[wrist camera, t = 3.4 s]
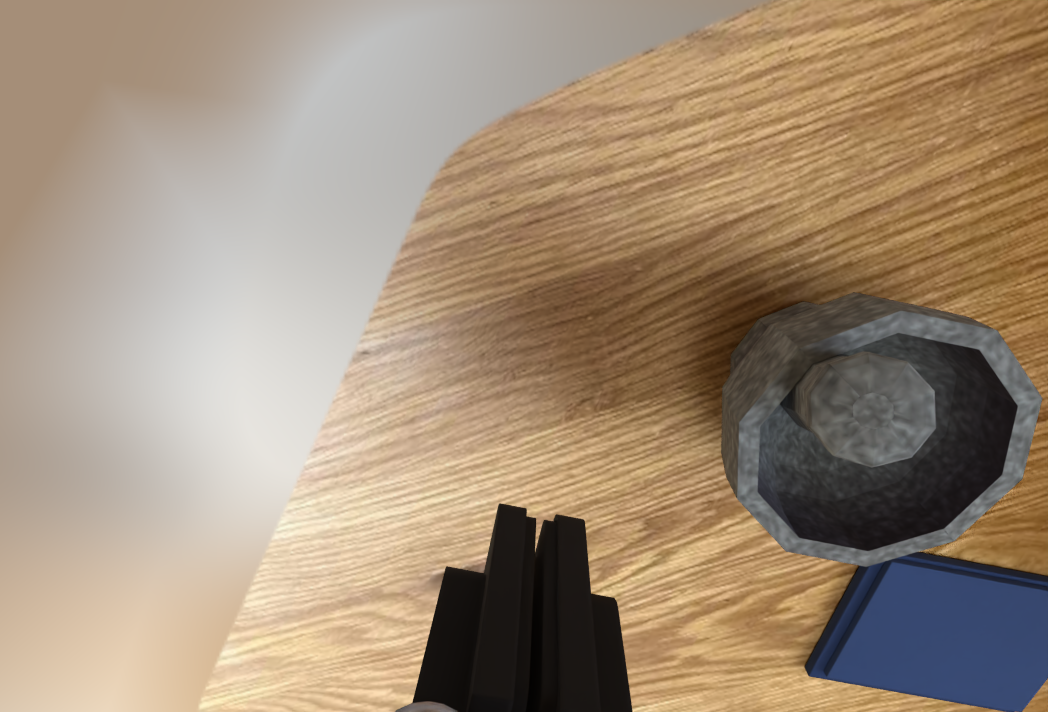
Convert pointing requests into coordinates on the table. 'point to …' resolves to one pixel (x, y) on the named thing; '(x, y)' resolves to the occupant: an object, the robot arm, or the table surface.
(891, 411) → the mortar and pestle
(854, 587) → the blue flat slab
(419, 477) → the table surface
